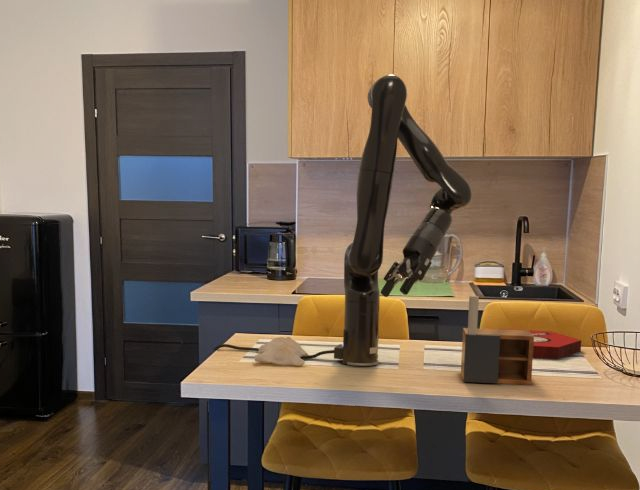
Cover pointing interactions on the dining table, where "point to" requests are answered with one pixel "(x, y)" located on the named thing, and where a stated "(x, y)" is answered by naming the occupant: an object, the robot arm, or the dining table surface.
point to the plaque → (553, 345)
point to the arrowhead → (281, 352)
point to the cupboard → (510, 355)
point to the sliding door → (480, 350)
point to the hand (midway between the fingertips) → (393, 293)
